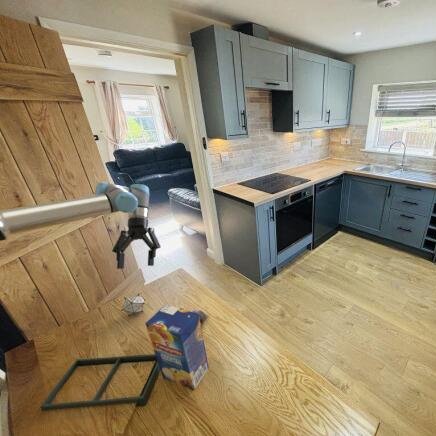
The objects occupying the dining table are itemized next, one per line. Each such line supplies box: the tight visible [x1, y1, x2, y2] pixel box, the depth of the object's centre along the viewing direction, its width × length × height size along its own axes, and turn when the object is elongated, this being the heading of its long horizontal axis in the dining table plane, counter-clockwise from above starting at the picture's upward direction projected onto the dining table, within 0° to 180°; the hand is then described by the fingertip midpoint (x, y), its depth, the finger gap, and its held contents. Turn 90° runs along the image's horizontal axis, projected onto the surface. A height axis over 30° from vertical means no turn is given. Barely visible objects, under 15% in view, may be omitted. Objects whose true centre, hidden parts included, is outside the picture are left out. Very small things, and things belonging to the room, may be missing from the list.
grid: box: [39, 353, 161, 412], centre depth 73 cm, size 27×14×4 cm, turn 95°
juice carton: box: [145, 304, 210, 391], centre depth 72 cm, size 12×8×24 cm, turn 72°
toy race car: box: [179, 307, 207, 325], centre depth 93 cm, size 10×15×6 cm, turn 69°
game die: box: [120, 292, 147, 317], centre depth 98 cm, size 9×8×10 cm
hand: (135, 267), depth 100 cm, fingers open, 13 cm apart
